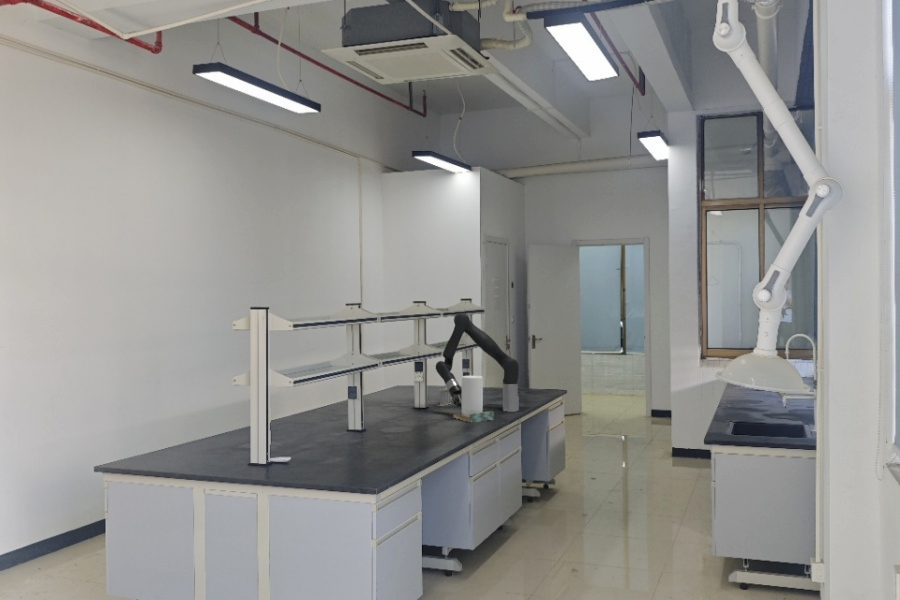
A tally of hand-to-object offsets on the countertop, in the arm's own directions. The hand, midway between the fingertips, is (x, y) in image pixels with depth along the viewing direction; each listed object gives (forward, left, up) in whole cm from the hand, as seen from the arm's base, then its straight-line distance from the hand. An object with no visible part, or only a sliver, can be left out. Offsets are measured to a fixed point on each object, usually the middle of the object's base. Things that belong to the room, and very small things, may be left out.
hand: (465, 410), depth 464 cm
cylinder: (0, +6, -4) cm, 7 cm away
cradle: (0, +7, -4) cm, 8 cm away
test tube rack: (-21, -50, -4) cm, 54 cm away
